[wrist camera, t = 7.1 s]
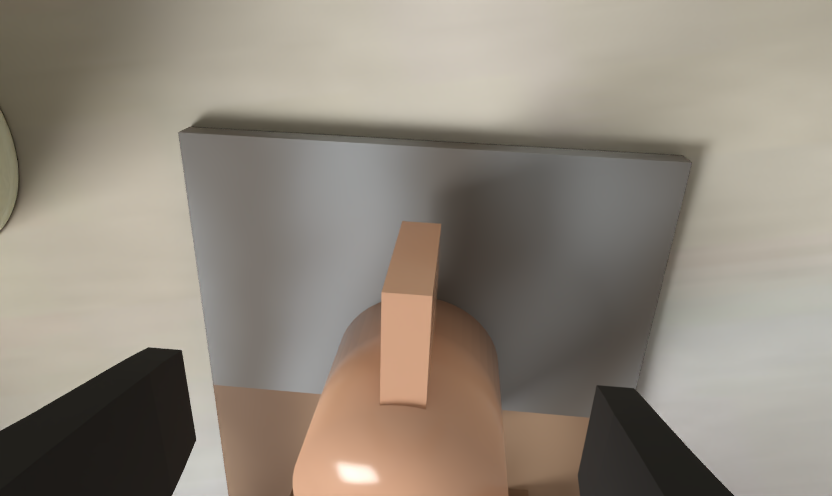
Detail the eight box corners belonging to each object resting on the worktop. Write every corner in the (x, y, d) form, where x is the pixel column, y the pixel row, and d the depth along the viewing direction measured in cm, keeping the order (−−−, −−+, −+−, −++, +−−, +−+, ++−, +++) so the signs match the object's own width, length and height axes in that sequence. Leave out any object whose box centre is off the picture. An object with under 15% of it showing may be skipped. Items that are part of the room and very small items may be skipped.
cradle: (243, 542, 27) (215, 610, 24) (189, 126, 19) (136, 152, 16) (581, 578, 26) (595, 654, 23) (682, 155, 18) (725, 189, 15)
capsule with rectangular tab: (339, 422, 23) (297, 559, 17) (333, 202, 19) (278, 289, 13) (490, 436, 22) (497, 580, 17) (517, 214, 18) (537, 309, 13)
